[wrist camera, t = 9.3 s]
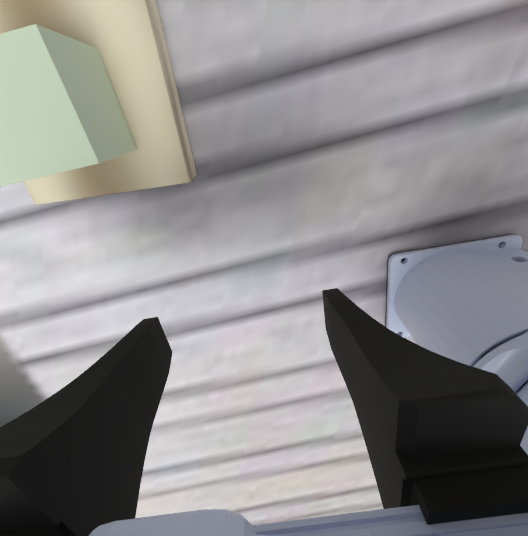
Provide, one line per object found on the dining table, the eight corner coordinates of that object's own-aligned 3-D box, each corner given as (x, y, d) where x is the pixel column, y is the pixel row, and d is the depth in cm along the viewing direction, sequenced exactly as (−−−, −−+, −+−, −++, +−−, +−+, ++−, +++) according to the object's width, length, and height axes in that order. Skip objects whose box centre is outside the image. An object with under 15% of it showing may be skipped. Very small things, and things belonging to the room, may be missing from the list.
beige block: (156, -8, 15) (137, -32, 13) (198, 172, 20) (189, 182, 17) (-13, 20, 16) (-67, 2, 13) (63, 191, 20) (35, 204, 17)
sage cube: (97, 48, 14) (35, 23, 10) (137, 149, 16) (99, 163, 12) (8, 72, 14) (-87, 57, 10) (58, 168, 16) (-4, 188, 12)
